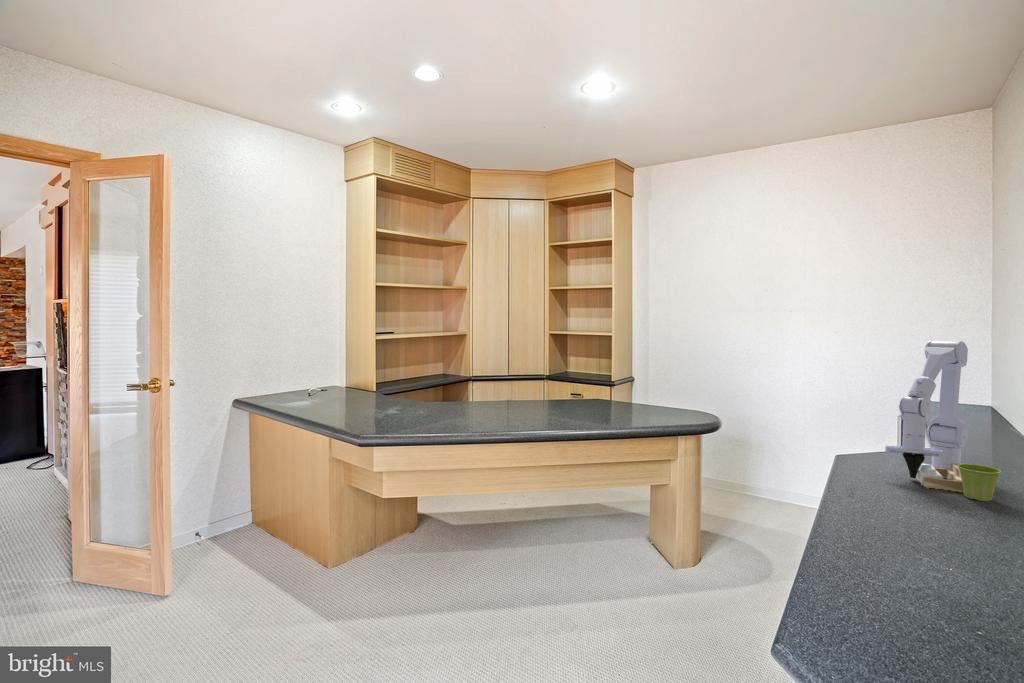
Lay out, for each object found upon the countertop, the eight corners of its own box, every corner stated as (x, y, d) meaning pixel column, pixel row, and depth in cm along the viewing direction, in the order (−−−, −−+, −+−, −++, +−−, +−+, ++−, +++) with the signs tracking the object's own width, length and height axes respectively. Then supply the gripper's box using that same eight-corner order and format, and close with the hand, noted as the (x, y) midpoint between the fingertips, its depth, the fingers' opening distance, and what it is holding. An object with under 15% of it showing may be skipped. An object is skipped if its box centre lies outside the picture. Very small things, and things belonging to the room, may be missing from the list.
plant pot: (983, 493, 158) (983, 464, 158) (1009, 504, 149) (1010, 473, 148) (948, 492, 159) (949, 463, 159) (972, 503, 149) (973, 472, 149)
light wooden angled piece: (913, 474, 178) (913, 459, 178) (961, 479, 172) (962, 463, 172) (924, 487, 163) (924, 471, 163) (977, 493, 157) (978, 476, 157)
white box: (913, 476, 176) (914, 461, 176) (933, 478, 174) (933, 463, 174) (921, 485, 165) (922, 470, 165) (942, 488, 163) (942, 472, 163)
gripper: (888, 434, 170) (887, 477, 171) (945, 439, 164) (944, 483, 164) (884, 430, 177) (883, 471, 177) (940, 434, 170) (939, 477, 171)
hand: (912, 477), depth 171 cm, fingers closed
